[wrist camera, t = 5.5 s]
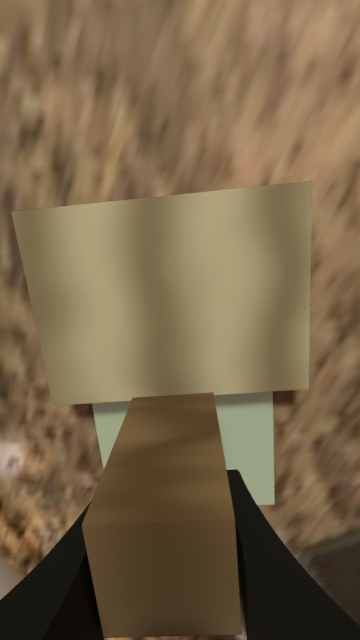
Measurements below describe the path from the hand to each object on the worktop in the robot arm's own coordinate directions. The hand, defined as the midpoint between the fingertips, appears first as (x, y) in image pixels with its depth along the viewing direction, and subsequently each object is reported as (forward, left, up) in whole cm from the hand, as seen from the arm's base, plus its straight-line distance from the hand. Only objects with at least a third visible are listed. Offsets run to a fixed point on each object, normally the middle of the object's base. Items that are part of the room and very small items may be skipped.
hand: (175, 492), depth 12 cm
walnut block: (0, -1, -3) cm, 3 cm away
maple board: (0, -7, -8) cm, 11 cm away
